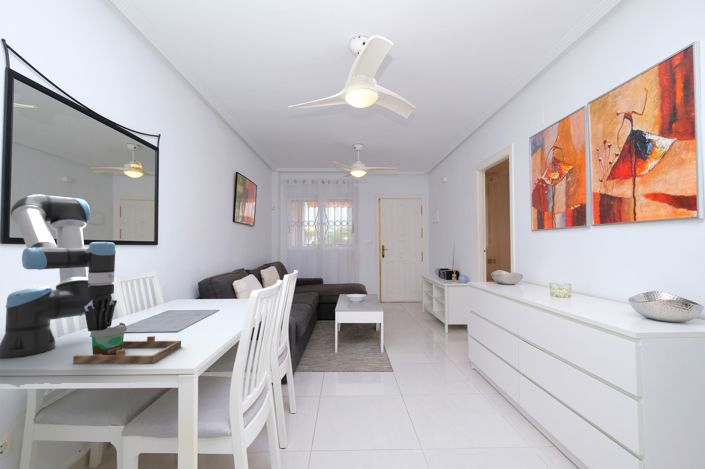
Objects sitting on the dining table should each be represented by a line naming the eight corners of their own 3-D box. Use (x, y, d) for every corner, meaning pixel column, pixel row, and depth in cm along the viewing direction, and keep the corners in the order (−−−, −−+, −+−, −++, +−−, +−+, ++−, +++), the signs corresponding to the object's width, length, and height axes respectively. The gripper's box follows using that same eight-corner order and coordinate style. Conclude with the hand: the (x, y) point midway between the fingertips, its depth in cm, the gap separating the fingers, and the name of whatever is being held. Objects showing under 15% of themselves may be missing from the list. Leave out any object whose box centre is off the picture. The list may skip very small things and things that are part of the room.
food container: (104, 361, 106) (106, 332, 106) (88, 360, 106) (90, 331, 107) (134, 349, 118) (135, 323, 118) (119, 348, 119) (120, 322, 119)
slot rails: (73, 363, 104) (73, 351, 104) (111, 347, 121) (112, 336, 121) (153, 363, 104) (153, 350, 104) (181, 346, 121) (181, 336, 121)
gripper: (96, 286, 106) (94, 355, 105) (124, 282, 120) (122, 343, 118) (75, 286, 106) (72, 355, 105) (105, 282, 120) (103, 343, 118)
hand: (99, 348), depth 112 cm, fingers closed
